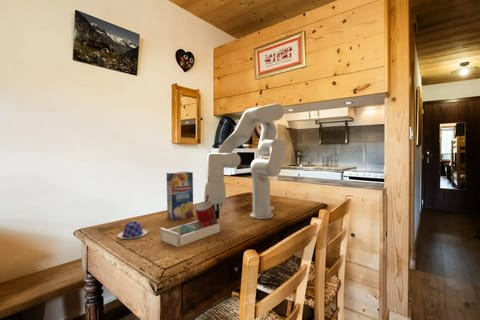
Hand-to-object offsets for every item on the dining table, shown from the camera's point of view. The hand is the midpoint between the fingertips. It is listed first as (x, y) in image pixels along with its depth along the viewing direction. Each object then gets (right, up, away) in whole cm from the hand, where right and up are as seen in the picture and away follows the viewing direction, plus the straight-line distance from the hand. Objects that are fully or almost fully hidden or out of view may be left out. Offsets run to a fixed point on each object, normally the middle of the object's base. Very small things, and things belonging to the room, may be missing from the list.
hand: (215, 218), depth 113 cm
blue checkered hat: (-35, -5, -9) cm, 36 cm away
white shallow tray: (-9, -5, -11) cm, 15 cm away
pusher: (-10, -4, -13) cm, 17 cm away
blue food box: (-21, -4, +18) cm, 28 cm away
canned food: (-2, -3, -3) cm, 5 cm away
